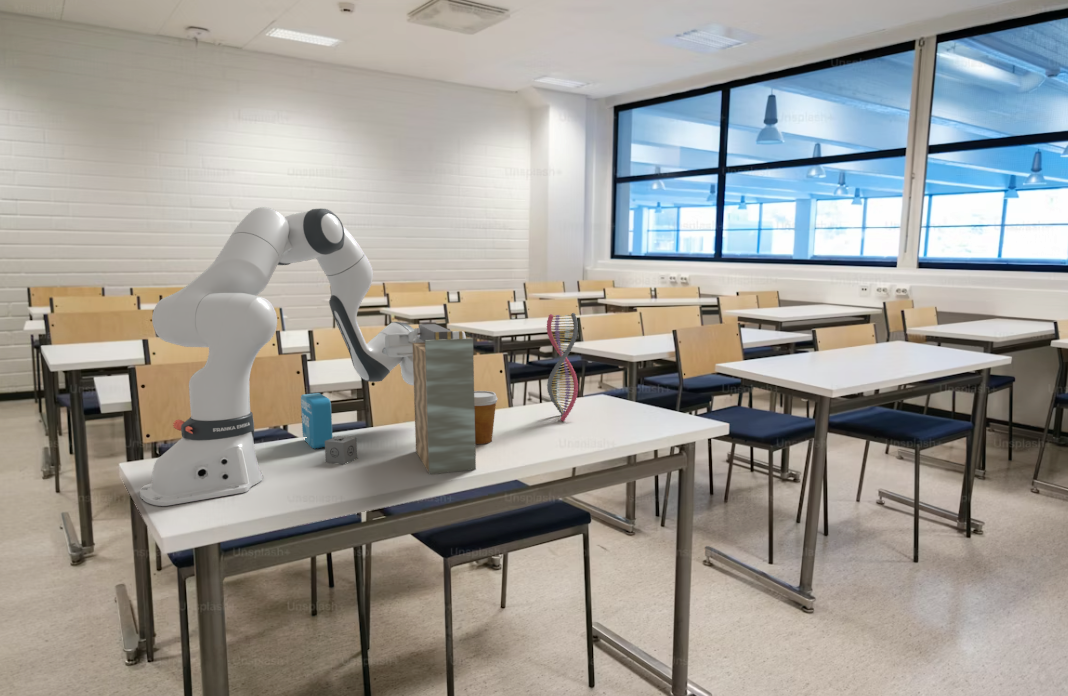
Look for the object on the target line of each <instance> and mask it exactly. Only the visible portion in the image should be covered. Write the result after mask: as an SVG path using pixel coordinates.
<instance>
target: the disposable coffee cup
mask: <svg viewBox="0 0 1068 696" xmlns="http://www.w3.org/2000/svg"><path fill="white" fill-rule="evenodd" d="M498 399H499V398H498V397H497V394H496V392H494V391H489V390H488V391H487V390H474V407H475V445H484V444H489V443H491V442H492V441H493V434H494V425H495V423H494V422H495V416H496V415H495V414H496V406H497V403H498Z"/></svg>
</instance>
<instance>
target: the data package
mask: <svg viewBox="0 0 1068 696" xmlns="http://www.w3.org/2000/svg"><path fill="white" fill-rule="evenodd" d="M300 406H301V407H300V409H301V410H300V411H301V427H302V428H301V429H302V430H301V431H302V438H303V437H307V438H305V441H306V442H307V443H308V444H307V443H306V442H305V441H304V442H305V443H306V444H307V445H308V446H309V447H311V448H312V449H313V448H314V449H313V450H316V448H317V449H323V448H322V447H324V448H325V441H326V440H329V439H331V438H334V437H333V422H332V421H333V417H332V416H333V414H332V403H331V399H330V397H329V398H328V397H327V396H325V395H324V394H322V393H320V392H313V393H306V394H301V396H300Z"/></svg>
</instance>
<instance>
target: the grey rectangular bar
mask: <svg viewBox="0 0 1068 696" xmlns="http://www.w3.org/2000/svg"><path fill="white" fill-rule="evenodd" d="M418 328H421V337H419V339H421V340H422V341H424V342H425V340H436V334H435V332H439V339H447V332H451V339H453V336H452V331H453V330H450V329H448V328H446V327H443V326H441V325H439V324H436V323H428V324H427V323H424V324H418Z"/></svg>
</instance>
